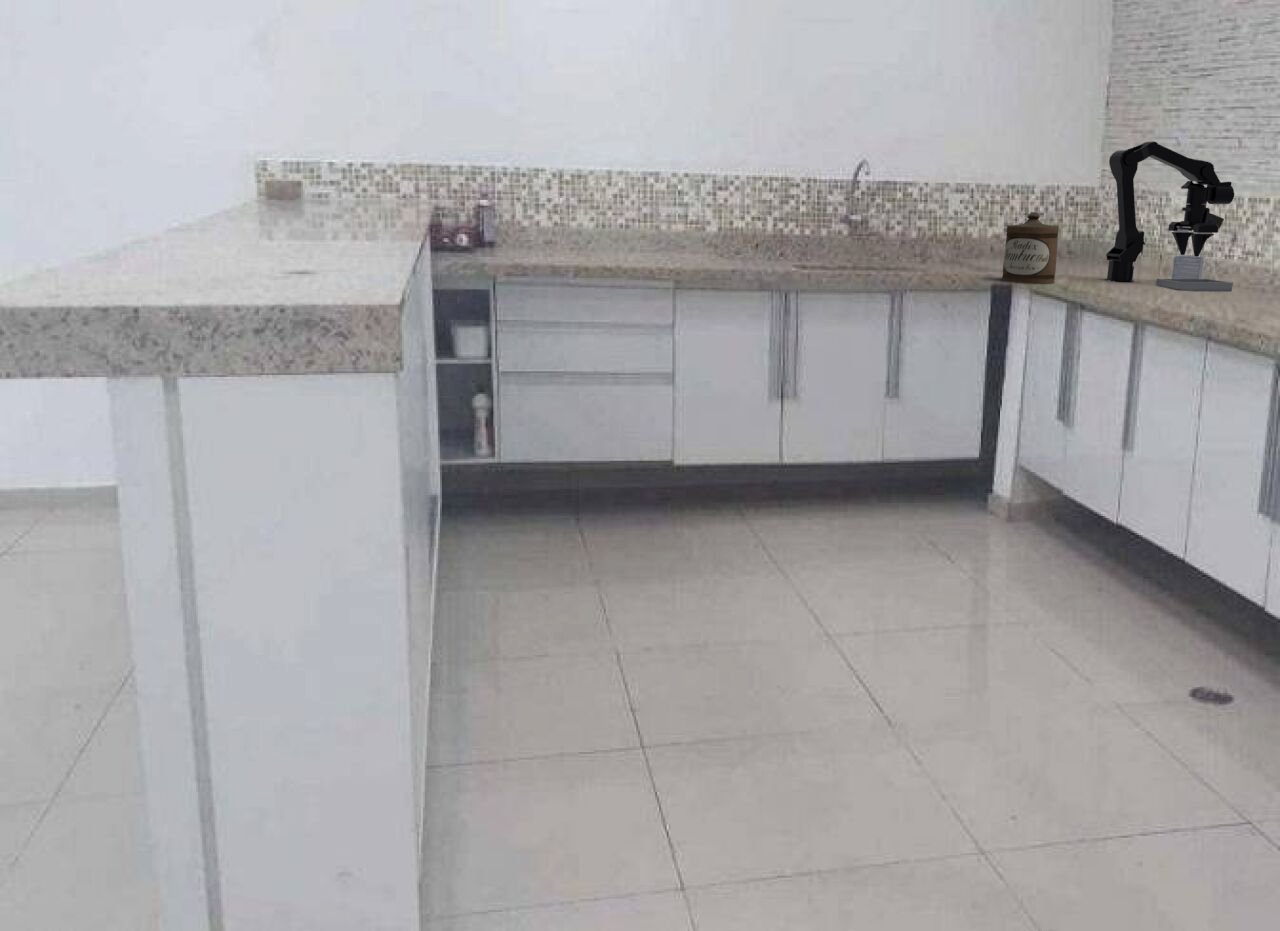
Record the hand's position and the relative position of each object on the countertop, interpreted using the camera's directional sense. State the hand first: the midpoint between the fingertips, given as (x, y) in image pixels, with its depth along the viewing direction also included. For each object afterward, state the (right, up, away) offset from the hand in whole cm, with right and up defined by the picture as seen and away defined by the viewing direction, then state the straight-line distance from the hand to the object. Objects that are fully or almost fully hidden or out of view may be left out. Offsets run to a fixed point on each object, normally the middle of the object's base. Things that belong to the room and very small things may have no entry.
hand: (1189, 255), depth 337 cm
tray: (-6, -13, -15) cm, 20 cm away
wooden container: (-55, -12, -13) cm, 58 cm away
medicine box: (0, -9, +2) cm, 9 cm away
